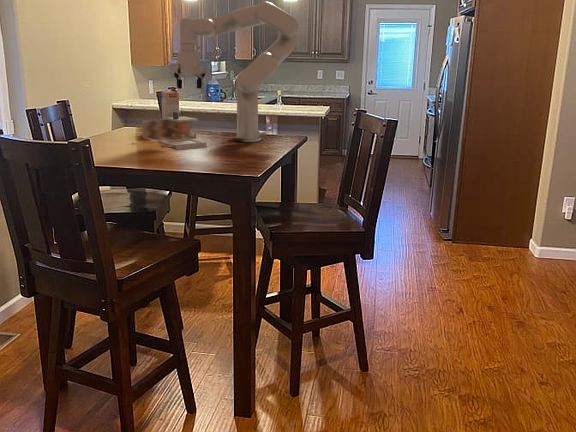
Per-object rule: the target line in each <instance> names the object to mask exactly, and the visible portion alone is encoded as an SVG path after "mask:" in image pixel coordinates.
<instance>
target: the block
mask: <svg viewBox="0 0 576 432" xmlns="http://www.w3.org/2000/svg"><path fill="white" fill-rule="evenodd" d="M177 123H178V134H190V132H191V121H188V122H177Z"/></svg>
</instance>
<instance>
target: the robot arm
mask: <svg viewBox="0 0 576 432" xmlns="http://www.w3.org/2000/svg"><path fill="white" fill-rule="evenodd" d="M261 25H266V26H269V27H270V28H272V29H274V30H275V31H278V37H277V39H276V40H275V41H274V42H273V43H272V44H271V45H270V46H269V47H267V48H266V49H265V50H264V51H263V52H262V53H260V54H259V55H257V57H256V58H255V59H254V60H253V61H252V62H251V63H250V64H249V65H248V66H246V68H244V69H243V70H241V71H239V73H238V74H237V77H236V136H234V138H236V139H240V140H237V142H239V143H257V142H261V141H262V137H261V136H266V135H267V131H265V130H262V131H261V130H259V87H261V85H263V84H264V83H265V82H266V81H267V80H269V78H271V76H272V75H274V74H275V73H276V71H277V69H278V66H279V65H281V64H282V63H283V61H285V60H286V59H287V58H288V56H290V55H291V53H292V52H294V50H295V47H296V46H297V41H298V31H299V29H300V24H299V21H298V20H297V18H296V17H295V16H294V15H292V14H290V13H288V12H287V11H285V10H283V9H282V8H280V7H278V6H276V5H275V4H273V3H272V2H270V1H268V0H267V1H262V2H260V3H257V4H254V5H250V6H245V7H241V8H237V9H234V10H231V11H230V12H228V13H226V14H222V15H220V16H219V15H218V16H215V17H211V18H206V17H203V18H192V17H190V18H189V17H183V18H181V19H180V20H179V43H180V44H179V47H180V48H179V49H180V50H179V51H178V52H177V56H176V65H175V66H173V67H172V68H170V71H171V73H172V75H173V77H174V78H175V79H176V88H177V89H179V90H181V89H183V79H182V77H184V75H185V76H195V77H196V78H197V79H196V88H197V89H199V90H200V89H202V86H203V79H204V77H205V76H206V73H207V72H208V70H207V68H206V67H204V66H202V63H201V54H200V52H199V50H200V49H201V46H200V45H199V42H198V41H199V40H198V39H199V37H198V36H201V37H204V38H211V37H215V36H219V35H222V34H223V35H224V34H226V33H231V32H238V31H240V30H241V31H242V30H245V29H249V28H253V27H258V26H261Z"/></svg>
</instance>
